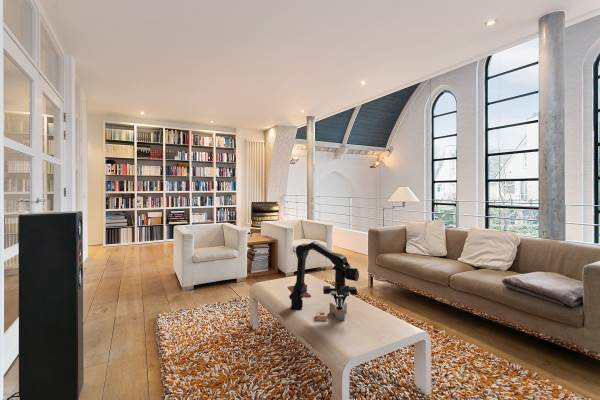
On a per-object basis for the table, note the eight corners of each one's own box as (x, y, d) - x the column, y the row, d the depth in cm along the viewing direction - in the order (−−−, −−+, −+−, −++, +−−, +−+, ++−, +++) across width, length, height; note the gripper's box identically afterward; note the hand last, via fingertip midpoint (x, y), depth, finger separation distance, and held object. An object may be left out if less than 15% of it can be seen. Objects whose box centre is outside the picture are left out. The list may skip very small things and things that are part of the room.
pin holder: (316, 320, 170) (316, 315, 170) (316, 315, 176) (316, 311, 176) (327, 320, 170) (327, 316, 170) (326, 316, 176) (326, 311, 176)
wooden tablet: (312, 297, 207) (312, 295, 207) (298, 299, 203) (298, 297, 203) (298, 286, 232) (298, 283, 232) (285, 287, 228) (285, 285, 228)
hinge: (330, 320, 171) (330, 309, 170) (329, 312, 182) (329, 302, 181) (349, 320, 170) (349, 310, 170) (346, 312, 181) (346, 302, 181)
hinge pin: (336, 312, 171) (336, 297, 171) (336, 310, 175) (336, 295, 174) (342, 312, 171) (343, 297, 171) (342, 310, 175) (342, 295, 174)
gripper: (324, 282, 164) (323, 310, 165) (359, 282, 164) (358, 311, 165) (323, 276, 176) (322, 302, 176) (355, 276, 175) (355, 303, 176)
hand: (339, 305), depth 173 cm, fingers closed on hinge pin, 3 cm apart
